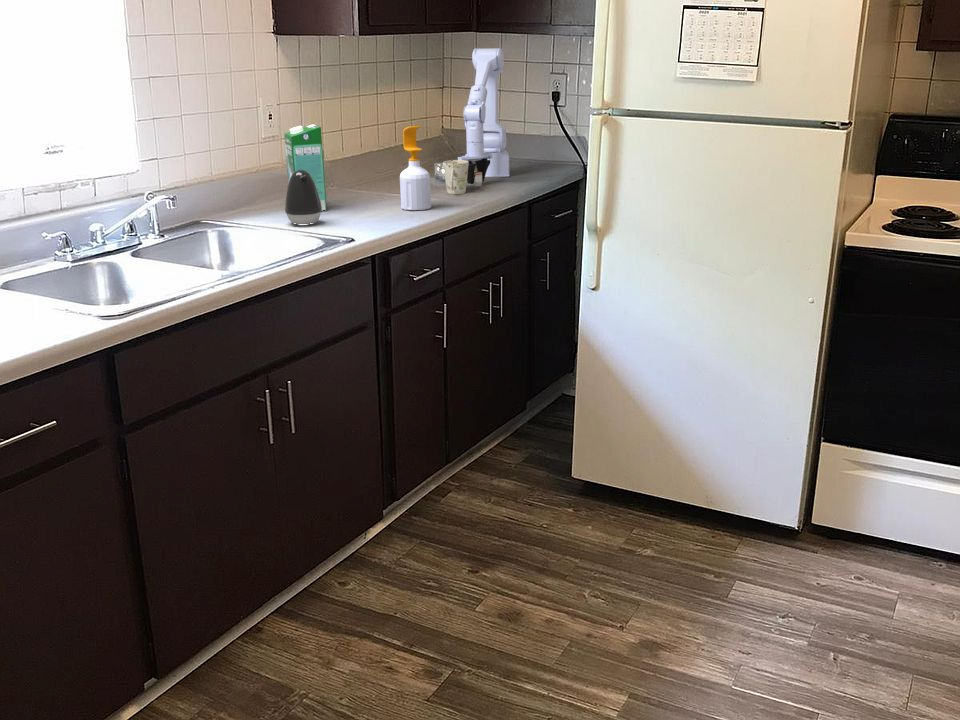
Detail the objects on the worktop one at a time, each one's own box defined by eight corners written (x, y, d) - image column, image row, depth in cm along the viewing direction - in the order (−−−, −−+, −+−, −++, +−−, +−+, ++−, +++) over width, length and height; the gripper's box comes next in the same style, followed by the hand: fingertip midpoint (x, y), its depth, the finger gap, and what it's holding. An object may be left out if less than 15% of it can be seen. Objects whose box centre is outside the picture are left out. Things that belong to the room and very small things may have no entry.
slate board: (455, 177, 348) (455, 176, 347) (470, 185, 331) (470, 183, 331) (423, 180, 344) (423, 178, 344) (436, 188, 328) (436, 186, 328)
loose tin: (480, 185, 332) (480, 170, 330) (484, 187, 328) (484, 172, 326) (467, 186, 330) (467, 171, 329) (471, 188, 326) (471, 173, 325)
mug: (470, 190, 323) (469, 160, 319) (466, 197, 311) (465, 165, 308) (445, 190, 324) (444, 160, 320) (440, 197, 312) (439, 165, 308)
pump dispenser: (291, 229, 270) (286, 174, 265) (282, 222, 279) (278, 168, 274) (327, 225, 274) (323, 171, 269) (317, 218, 283) (313, 166, 278)
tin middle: (450, 179, 341) (449, 164, 339) (453, 181, 337) (453, 166, 335) (437, 180, 340) (437, 165, 338) (440, 182, 336) (440, 167, 334)
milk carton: (290, 209, 298) (283, 125, 289) (319, 206, 301) (313, 123, 293) (297, 214, 290) (290, 128, 282) (327, 211, 293) (321, 126, 285)
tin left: (445, 176, 346) (445, 162, 344) (449, 178, 342) (448, 164, 340) (433, 177, 345) (432, 163, 343) (436, 179, 341) (436, 164, 339)
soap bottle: (408, 212, 289) (404, 127, 281) (396, 207, 297) (392, 125, 289) (435, 209, 293) (433, 125, 285) (423, 204, 301) (420, 123, 293)
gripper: (481, 138, 331) (482, 178, 336) (450, 143, 322) (452, 184, 326) (496, 140, 327) (497, 180, 331) (465, 144, 317) (466, 186, 322)
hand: (475, 182), depth 329 cm, fingers closed on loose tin, 4 cm apart
